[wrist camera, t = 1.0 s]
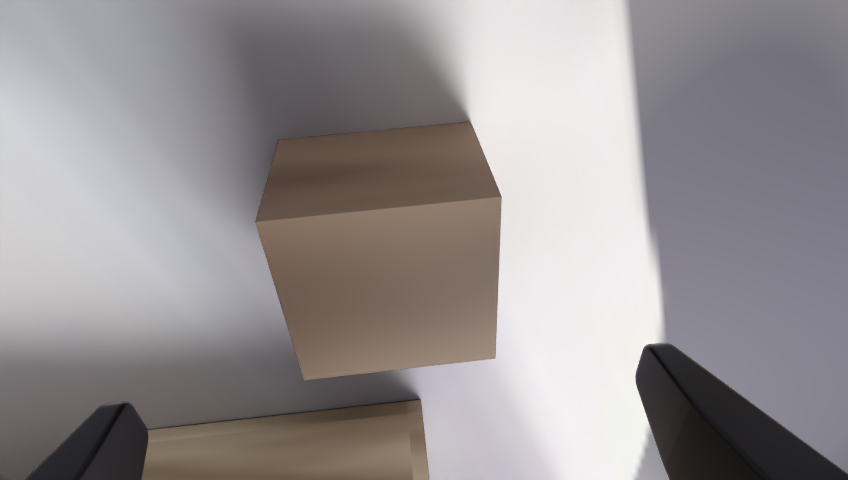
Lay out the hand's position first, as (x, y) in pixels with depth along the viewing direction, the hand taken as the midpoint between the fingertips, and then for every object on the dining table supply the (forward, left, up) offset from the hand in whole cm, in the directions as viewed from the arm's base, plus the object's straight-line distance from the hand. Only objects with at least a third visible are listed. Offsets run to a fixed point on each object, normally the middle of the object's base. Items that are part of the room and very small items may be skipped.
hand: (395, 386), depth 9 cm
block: (0, 0, -6) cm, 6 cm away
